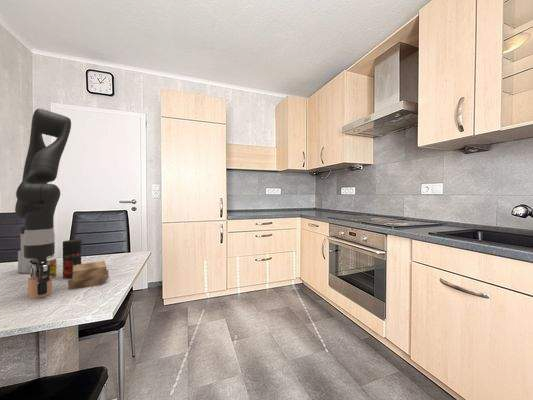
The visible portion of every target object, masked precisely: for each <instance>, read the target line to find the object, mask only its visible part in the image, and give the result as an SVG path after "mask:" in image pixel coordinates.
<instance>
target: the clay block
mask: <svg viewBox="0 0 533 400" xmlns="http://www.w3.org/2000/svg"><path fill="white" fill-rule="evenodd" d="M44 278H45V276H42V279H44ZM50 295H53V278H52V276H50V281H48V282H47V293H46V294H42V295H38V293H37V278H36V277H30V276H29V277H27V297H28V298H29V299H31V300H34V299H35V300H36V299H39V298H42V297H46V296H50Z"/></svg>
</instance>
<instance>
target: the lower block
mask: <svg viewBox="0 0 533 400" xmlns="http://www.w3.org/2000/svg"><path fill="white" fill-rule="evenodd" d="M108 278H109V269H106V276H100V277H94V278H89V279H83V280H78V281H73V277H72V278H71V279H67V280H68V282H67V285H68V286H67V289H68V290H71V289H80V288H89V287H97V286H102V285H103V284H104V282H105V281H106V280H107V279H108Z"/></svg>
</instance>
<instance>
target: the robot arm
mask: <svg viewBox="0 0 533 400" xmlns="http://www.w3.org/2000/svg"><path fill="white" fill-rule="evenodd" d="M30 125H31V127H30V135H29V137H30V138H29V145H28V148H27V149H28V150H27V153H26V156H25V157H26V158H25V161H24V166H23V172H22V173H23V174H22V181H21V183H19V185H18V187H17V189H16V192H15V198H16V202H15V206H14V207H15V209H14V212H15V216H16V217H17V218H20V219H24V226H22V227H21V228H20V250H18V251H17V273H22V274H30V275H29V278H30V277H36V278H37V293H38V295H42V294H46V293H47V282H48V281H50V267H51V265H50V264H49V261H47V257H48V256H52V255H54V256H55V250H56V249H55V248H56V247H55V246H56V245H55V243H56V242H55V239H56V237H55V235H56V234H55V228H54V221H55V220H54V216H55V211H56V207H57V205H58V202H59V200H60V198H61V190H60V188H59V186H57V185H56V184H54V183H50V182H55V180H56V179H57V178H58V177H57V176H58V172H59V166H60V161H61V158H62V156H63V153H64V150H65V147H66V145H67V143H68V139H69V136H70V133H71V130H72V120H71V118H69V117H68V116H65V115H62V114H59V113H56V112H52V111H51V110H50V111H49V110H46V109H44V108H36V109H35V111H34V112H33V113H32V119H31V124H30ZM43 135H45V136H50V137H54V138H56V139H55V140H54V141H53V142H52V143H50V144H48V145H46V143H45V142H44V138H43ZM42 276H45V278H44V279H42Z"/></svg>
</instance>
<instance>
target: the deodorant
mask: <svg viewBox="0 0 533 400" xmlns="http://www.w3.org/2000/svg"><path fill="white" fill-rule="evenodd" d="M79 264H82V240H81V239H70V240H64V241H62V279H64V280H70V279H71V278H72V277H73V265H79Z"/></svg>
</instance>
